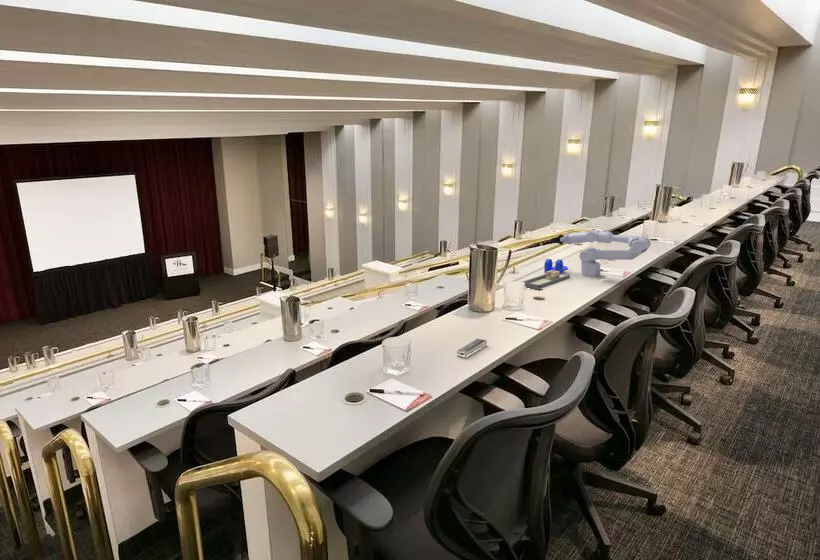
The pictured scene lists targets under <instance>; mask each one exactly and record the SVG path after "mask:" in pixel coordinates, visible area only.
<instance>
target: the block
mask: <svg viewBox="0 0 820 560" xmlns="http://www.w3.org/2000/svg"><path fill="white" fill-rule="evenodd" d="M545 274H546V279H549V280H554V279H557V278H560V276H561V275H560V274H561V273H560V271H555V270H550V271H547V272H546V273H545Z"/></svg>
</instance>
